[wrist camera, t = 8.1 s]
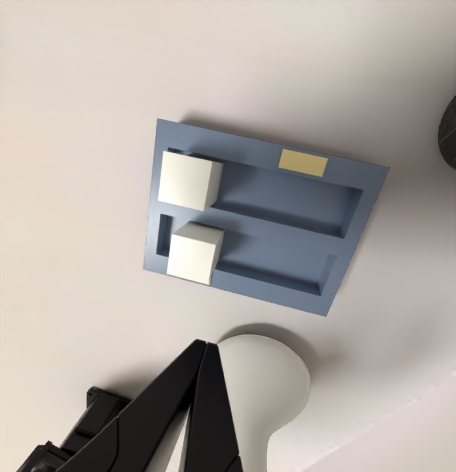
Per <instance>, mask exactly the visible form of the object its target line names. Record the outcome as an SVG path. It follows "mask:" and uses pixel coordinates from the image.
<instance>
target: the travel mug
mask: <svg viewBox="0 0 456 472" xmlns="http://www.w3.org/2000/svg"><path fill="white" fill-rule="evenodd" d="M438 142H439V148H440V151H441V154H442V156H443V158H444V159H445V160H446V162H447V163H448V164H449V165H450V166H451V167H453V168H454V169H456V96H455V97H454V98H453V100H452V101H451V103H450V104H449V106H448V107H447V109H446V111H445V113H444V115H443V118H442V120H441V124H440V127H439V134H438Z"/></svg>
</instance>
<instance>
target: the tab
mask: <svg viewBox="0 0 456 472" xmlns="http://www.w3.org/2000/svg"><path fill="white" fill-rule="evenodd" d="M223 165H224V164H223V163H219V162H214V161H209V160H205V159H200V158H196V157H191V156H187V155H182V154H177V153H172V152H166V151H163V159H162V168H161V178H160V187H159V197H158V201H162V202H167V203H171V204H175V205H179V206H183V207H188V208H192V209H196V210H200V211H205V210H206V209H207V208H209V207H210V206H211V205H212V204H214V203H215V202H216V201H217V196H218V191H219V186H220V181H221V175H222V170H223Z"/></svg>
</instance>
